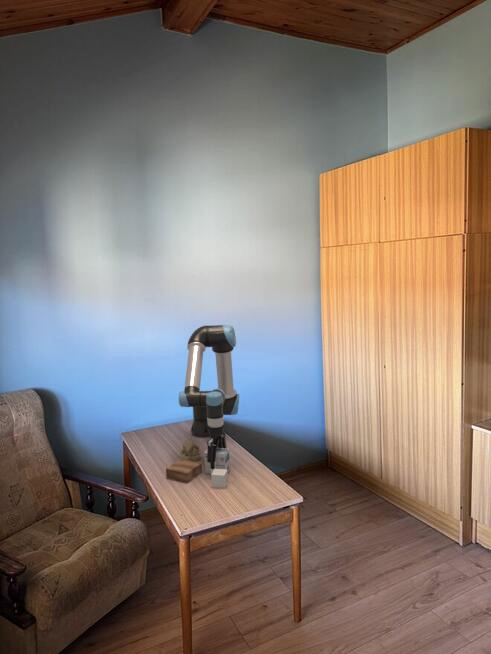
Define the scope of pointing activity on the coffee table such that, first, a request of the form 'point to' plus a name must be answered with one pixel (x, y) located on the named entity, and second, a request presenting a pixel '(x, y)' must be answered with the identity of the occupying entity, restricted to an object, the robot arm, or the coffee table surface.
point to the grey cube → (219, 478)
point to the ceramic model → (190, 450)
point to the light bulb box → (219, 460)
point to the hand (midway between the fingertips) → (217, 470)
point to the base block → (184, 470)
